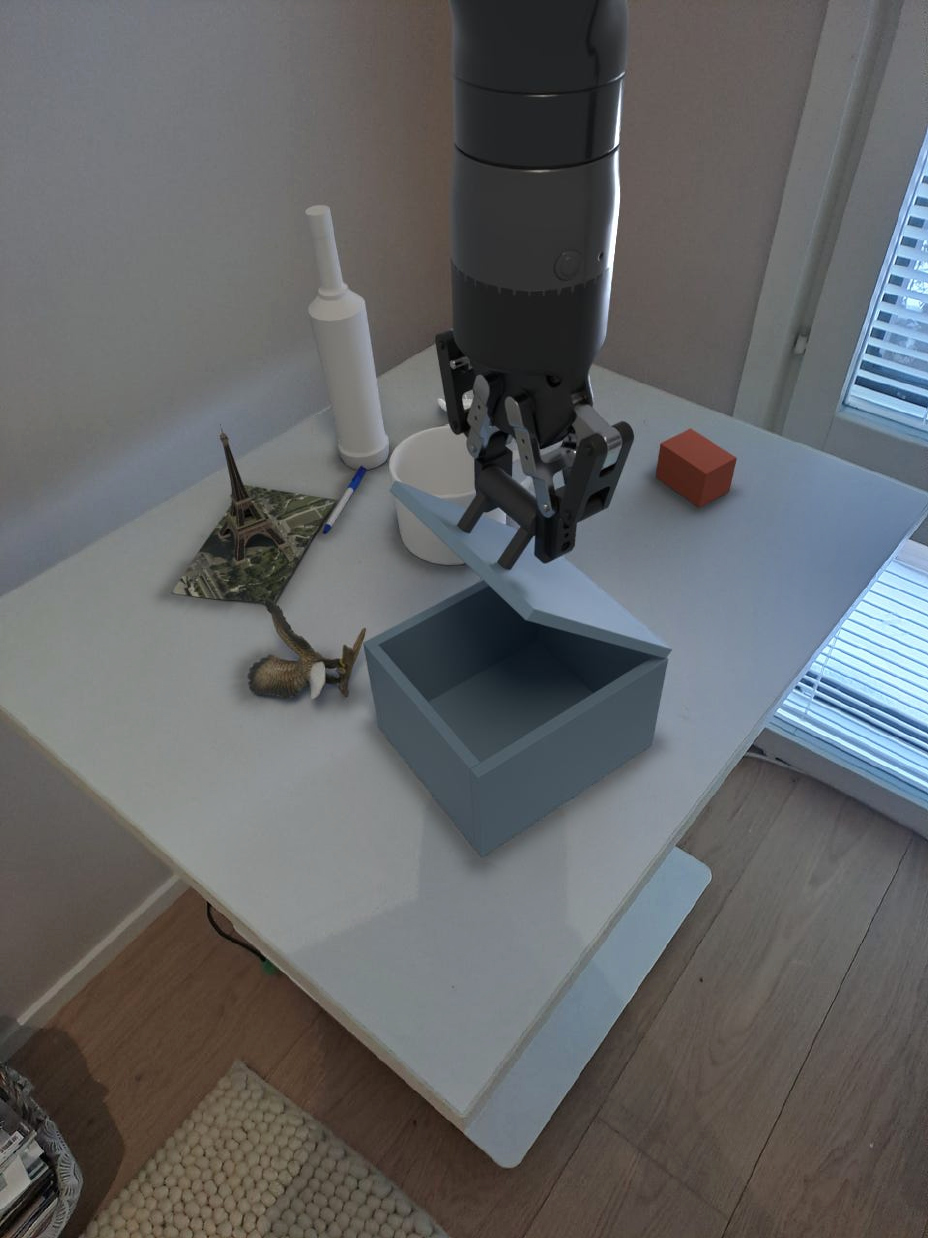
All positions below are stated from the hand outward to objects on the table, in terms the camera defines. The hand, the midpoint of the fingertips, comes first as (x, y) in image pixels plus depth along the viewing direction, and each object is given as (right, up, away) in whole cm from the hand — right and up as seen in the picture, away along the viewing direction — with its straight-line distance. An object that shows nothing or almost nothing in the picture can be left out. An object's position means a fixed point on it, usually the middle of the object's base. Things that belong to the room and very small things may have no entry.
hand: (522, 528), depth 53 cm
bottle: (-14, +11, +39) cm, 43 cm away
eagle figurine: (-16, -10, +19) cm, 27 cm away
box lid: (+1, -3, +4) cm, 5 cm away
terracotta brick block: (+19, +8, +34) cm, 40 cm away
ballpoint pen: (-15, +6, +35) cm, 38 cm away
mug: (-3, +3, +31) cm, 31 cm away
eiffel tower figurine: (-23, +1, +31) cm, 38 cm away
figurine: (-2, +15, +42) cm, 45 cm away
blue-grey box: (0, -14, +14) cm, 20 cm away
